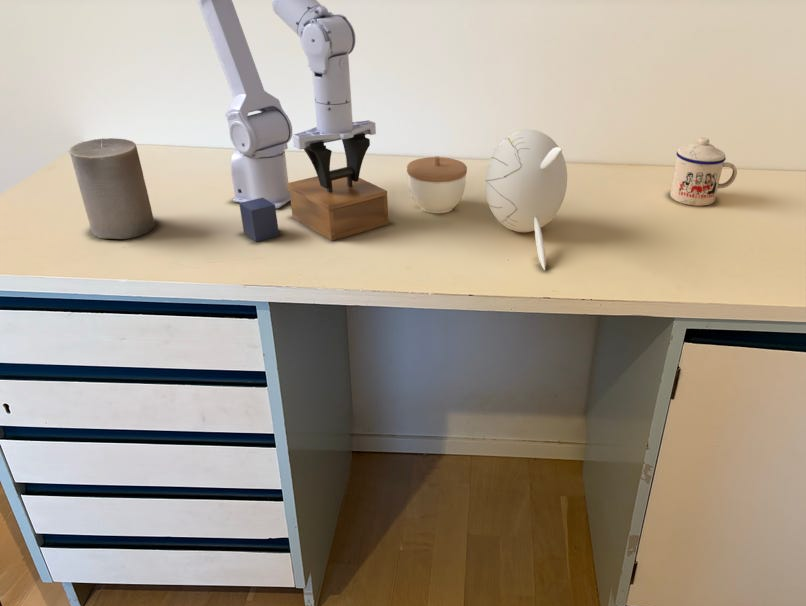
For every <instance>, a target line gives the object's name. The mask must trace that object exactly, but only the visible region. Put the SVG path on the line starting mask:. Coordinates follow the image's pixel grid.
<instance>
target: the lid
mask: <svg viewBox="0 0 806 606" xmlns="http://www.w3.org/2000/svg"><path fill="white" fill-rule="evenodd" d="M353 175H354V170H353V168H352V167H351V166H349V167H347V166H345V167H341V168H335V169H330V179H331V186H330V188H328V189H326V188H324V187H322V186H321V185H320V182H319V179H318V176H312V177H308V178H304V179H299V180H295V181H291V182H289V183H286V185H287V188H288V189H289V190H292V191H294V192H296V193H297V194H299V195H301V196H303V197H305V198H307V199H308V200H310V201H312V202H314V203H316V204H318V205H319V206H321V207H323V208H325V209H327V210H329V211H330V210H334V209H337V208H341V207H345V206H349V205H352V204H356V203H360V202H364V201H367V200H371V199H375V198H379V197H382V196H386V195H387V196H388V190H386V189H384V188H383V187H380V186H378V185H376V184H374V183H372V182H370V181H367V180H366V179H363V178H361V177H359V179H358V181H357V182H354V181H352V176H353Z"/></svg>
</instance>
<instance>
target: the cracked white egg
mask: <svg viewBox="0 0 806 606" xmlns="http://www.w3.org/2000/svg"><path fill="white" fill-rule="evenodd" d="M485 171H486V172H485V176H484V177H485V179H484V189H485V190H484V192H485V197H486V200H487V204H488V207H489V209H490V211H491V213H492V214H493V216H494V218H495V219H496V220H497V221H498V222H499V223H500V224H501V225H502V226H503V227H505V228H506V229H508V230H511V231H513V232H517V233H531V232H534V236H535V237H534V238H535V239H534V240H535V245H536V252H537V258H538V261H539V263H540V265H541V267H542V269H543V271H546V266H547V265H546V262H547V261H546V259H547V258H546V250H545V243H544V237H543V234H542V228H543V227H545V226H546V225H548V224H549V222H551V221H552V220H553V219H554V217H555V216H556V215H557V213H558V212H559V210H560V209H561V206H562V205H563V202H564V200H565V197H566V192H567V188H568V168H567V163H566V160H565V157H564V154H563V148H562V147H559V145H558V144H557V143H556V141H555V140H554V139H553V138H552V137H551V136H549V135H548V134H546V133H544V132H542V131H539V130H536V129H521V130H518V131H515V132H513V133H511V134H509V135H508V136H506V137H504V139H503V140H502V141H501V142H500V143H499V144H498V145H497V146H496V148H495V149H494V151H493V152H492V154H491V156H490V158H489V160H488V163H487V166H486V170H485Z"/></svg>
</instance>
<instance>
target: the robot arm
mask: <svg viewBox="0 0 806 606" xmlns="http://www.w3.org/2000/svg"><path fill="white" fill-rule="evenodd" d="M196 1H197V5H198V7H199V9H200V12H201V15H202V17H203V20H204V23H205V25H206V27H207V31H208V33H209V36H210V39H211V41H212V45H213V47H214V50H215V52H216V55H217V58H218V60H219V63H220V66H221V68H222V71H223V73H224V76H225V79H226V82H227V84H228V87H229V90H230V93H231V95H232V98H233V100H232V102H231V104H230V106H229V107H228V109H227V110H226V113H225V117H226V118H225V119H226V121H227V124H228V131H229V132H228V133H229V138H230V141H231V143H232V145H233V147H234V149H235V150H234V151H233V153H232V155H231V157H230V165H229V166H230V174H231V180H232V185H233V192H234V197H233V198H232V201H233V202H234V203H242V202H246V201H250V200H254V199H259V198H264V199H266V200H268V201H269V202H271V203H273V204H274V205H275V208H276V209H280V208H281V207H283V206H285V205H286V204H287V203H289V202H291V199H290V191H289V190H290V189H288V188H287V185H286V183H290V182H289V174H288V167H287V157H286V150H288V143H289V142H290V141H291V140H292V143H293V147H294V148H295V149H298V150H303V151H304V152H305V154H306V156H307V157H308V158H309V160H310V162H311V164H312V166H313V168H314V170H315V173H316V175H317V176H318V179H319V182H320V185H321V186H322V187H324V188H326V189H328V188H330V186H331V179H330V171H331V159H332V153H333V151H332V150H331V149H330V148H327V145H325V144H327V143H333V142H336V141H341V142H342V145H343V149H344V155H345V161H346V167H349V166H351V167H352V168H353V170H354V175H353V176H352V181H354V182H357V181H358V179H359V178H360V175H361V174H360V173H361V169H362V165H363V161H364V158H365V155H366V153H367V151H368V149H369V148H370V146H371V140H370V138H368V137H366V136H367V135H370V136H373V135H376V134H377V127H376V122H374V121H372V120H369V119H367V120H360V121H353V107H352V91H351V89H352V88H351V76H350V75H351V74H350V73H351V72H350V59H349V55H350V54H351V53H352V52H353V51H354V49H355V47H356V33H355V30H354V26H353V25H352V23H351V22H350V21H349V20H348V18H347V17H346V16H345V15H344V14H340V13H337V14H335V13H333V12H331V11H329V10H328V8H327V7H326V6H325V5H322V4H321V3H320V2H319V1H318V0H271V6H272V10H273V12H274V14H275V15H277V16H278V18H279V19H281V20H282V21H283V22H284V23H285V24H286V26H288V27H289V28H290V29H291V30H292V31H293V32H294V33H295V34H296V35H297V36H298V37H299V41H300V46H301V47H302V50H303V52H304V54H305V56H306V58H307V63H308V64H307V65H308V68H310V69H309V70H310V71H311V74H312V84H313V86H312V87H313V97H314V107H315V108H314V109H315V118H316V119H315V120H316V126H315V127H311V128H309V129H307V130H304V131H301V132H297V133H293V126H292V122H291V120H290V118H289V116H288V115H287V113H286V112H285V111H284V109H283V107H282V104H281V101H280V100H279V99H278V98H277V97H275V96H274V95H272V94H270V93H269V92H267V91H266V89H264V86H263V83H262V80H261V77H260V75H259V72H258V68H257V66H256V64H255V60H254V57H253V55H252V52H251V50H250V49H251V48H250V47H249V44H248V41H247V38H246V35H245V33H244V30H243V27H242V24H241V22H240V18H239V15H238V13H237V10H236V8H235V5H234V1H233V0H196ZM253 112H257V113H253ZM249 113H253V114H249Z"/></svg>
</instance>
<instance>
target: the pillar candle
mask: <svg viewBox="0 0 806 606" xmlns="http://www.w3.org/2000/svg"><path fill="white" fill-rule="evenodd" d="M68 154H69V155H70V159H71V162H72V166H73V169H74V172H75V173H74V174H75V177H76V181H77V184H78V188H79V191H80V195H81V199H82V202H83V206H84V209H85V213H86V216H87V220H88V223H89V227H90V231H91V233H92V235H93V236H94V237H96V238H98V239H105V240H106V239H107V240H109V239H111V240H112V239H113V240H128V239H133V238H137V237H140V236H143V235H145V234H147V233H149V232H150V231H151V230H152V229H153V228H154V227H155V219H154V214H153V210H152V206H151V202H150V197H149V193H148V188H147V185H146V179H145V176H144V171H143V169H142V168H143V167H142V164H141V159H140V155H139V151H138V148H137V144H136V143H135V142H134V141H133V140H130V139H127V138H126V139H125V138H113V137H112V138H111V137H110V138H109V137H108V138H95V139H90V140H86V141H81V142H78V143H77V144H74V145H73V146H71V147H70V148H69V150H68Z"/></svg>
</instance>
